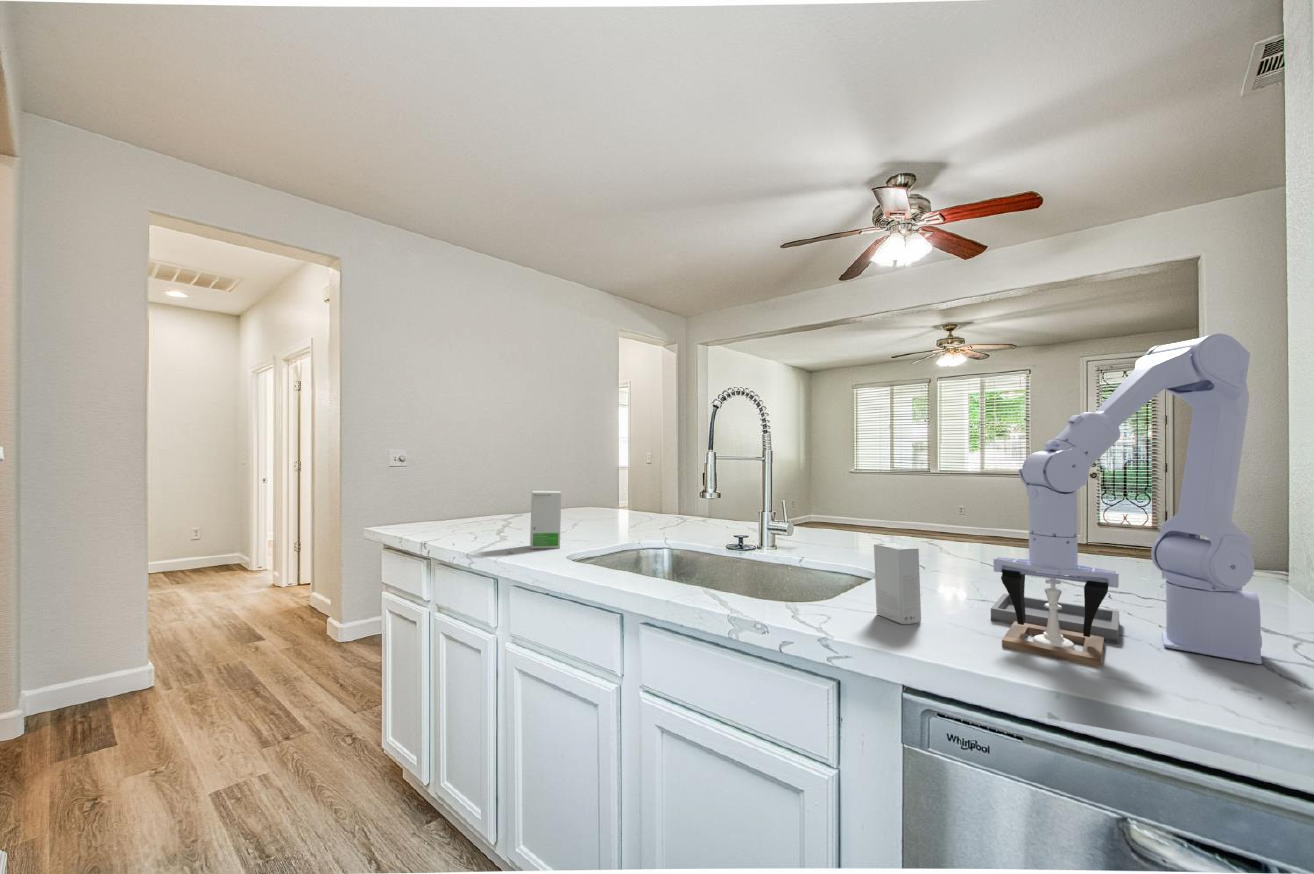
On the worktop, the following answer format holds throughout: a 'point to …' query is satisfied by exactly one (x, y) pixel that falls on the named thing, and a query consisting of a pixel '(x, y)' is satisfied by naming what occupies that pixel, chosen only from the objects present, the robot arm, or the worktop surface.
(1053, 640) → the chess piece
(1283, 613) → the worktop surface
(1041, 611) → the parts tray
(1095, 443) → the robot arm
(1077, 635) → the walnut holder
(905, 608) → the skincare box
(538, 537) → the skincare box
